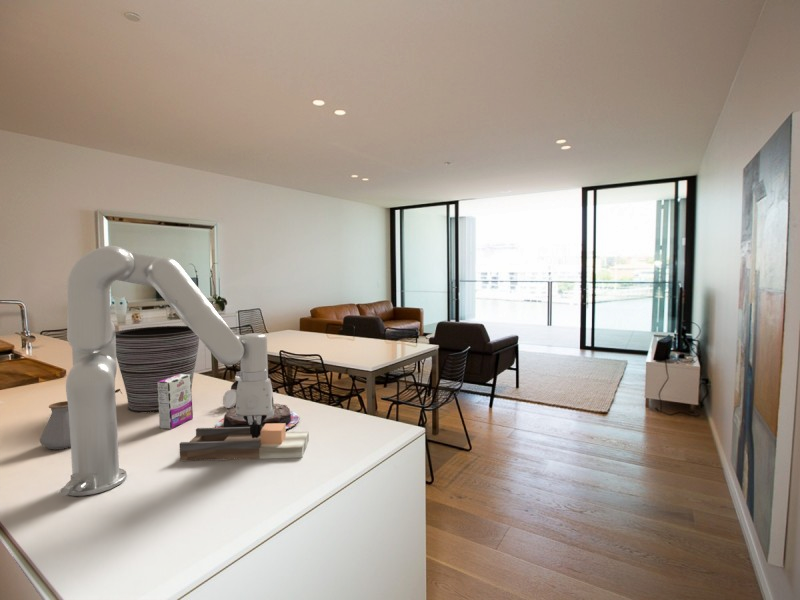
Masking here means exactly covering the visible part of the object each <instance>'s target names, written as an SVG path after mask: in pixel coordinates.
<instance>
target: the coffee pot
mask: <svg viewBox="0 0 800 600" xmlns="http://www.w3.org/2000/svg"><path fill="white" fill-rule="evenodd" d="M119 392H120V394H121V395H123V392H122V391H121V389H120V388H118V389H115V394H116V393H119ZM48 408H49V409H50V411H51V414H50V416H49V417H48V418H49V419H48V420H47V422H46V425H45V427H44V429H43V430H42V431H43V432H42V434H41V436H40V438H39V442H40V444H41V445H42V446H43V447H45V448H48V450H51V449H59V450H64V448H65V449H69V448H71V440H70V425H69V410H68V402H67V400H66V401H64V400H63V401H58V402H55V403H54V402H53V403H52V404H49V405H48ZM68 447H69V448H68Z"/></svg>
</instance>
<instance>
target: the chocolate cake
mask: <svg viewBox="0 0 800 600" xmlns="http://www.w3.org/2000/svg"><path fill="white" fill-rule="evenodd" d="M273 410H274V416H273V417H269V418H265V420H264V421H263V422H262V427H264V425H265V424H273V423H286V431H287V429H288V430H290V429H291V428H292V427H296V426H297V425H296V424H298V423H299V420H300V416H299V415H298V414H297V413H296V412H294V411H291V410H290V408H289V407H288V405H287V404H280V403H274V407H273ZM254 417H255V420H256V422H257V415H256V416H254ZM223 427H250V425H249V424H248V422H247V421H246V420H245V419H242V418H238V417H237V414H236V407H232V408H229V411H227V412H226V413H225V414H224V416H223V418H221V419H220V420H218V421H217V422H216V424H215V427H214V428H223Z"/></svg>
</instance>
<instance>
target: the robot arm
mask: <svg viewBox="0 0 800 600" xmlns="http://www.w3.org/2000/svg"><path fill="white" fill-rule="evenodd" d="M115 281H119V282H120V281H121V282H123V283H124V282H126V283H131V284H136V285H141V286H148V287H153V288H154V289H155V291H156V292H157V293H158V294H159V296H161V297H162V300H163V299H164V301H165V302H166V303H167V304H168V306H169V307H170V308H171V310H172V311H173V312H174V313H175V314H176V316H177V317H178V318H179V319H180V320H181V321H182V323H184V325H185V326H188V327H189V328H190V329H191V330H192V331H193V332H194V333H195V334H196V335H197V336H198V337H199V341H201V342H202V343H203V344H204V346H205V347H206V348H207V349H208V351H209V352H210V353H211V354H212V356H213V357H214V358H215V359H216V360H217V361H218V362H219V363H220V364H222V365H223V366H233V365H236V364H237V363H239V362H240V371H236V372H235V376H237V377H238V376H239V377H240V379H241V380H240V381H238V385H237V393H236V405H235V408H236V414H237V417H238V418H242V419H245V420H246V421H247V422H248V424H249V425H250V434H252V438H258V437H259V435H260V434H261V432H260V431H261V429H262V422H263V421H264V420H265V418H269V417H273V416H274V410H273V407H274V404H275V401H274V392H273V386H272V381H271V378H270V377H269V366H268V365H269V362H268V338H267V336H266V334H264V333H259V332H255V333H253V332H252V333H245V334H235V333H234V332H233V330H232V329H231V327H230V326H229V325H228V324H227V323H226V322H225V320H224V319H223V318H222V317H221V315H219V313H218V312H217V310H216V309H215V307H214V306H213V304H212V303H211V302H210V300H209V299H208V298H207V297H206V296H205V295H204V293H203V292H202V291H201V289H200V288H199V286H198V285H197V284H196V283H195V282H194V281H193V280H192V278H191V277H190V275H189V274H188V273H187V272H186V271H185V269H184V267H182V265H181V264H180V263H179V262H177V261H176V260H175V259H173V258H171V257H168V256H167V257H164V256H163V257H159V256H156V255H155V256H153V255H149V254H145V253H140V252H135V251H131V250H127V249H124V248H123V247H121V246H117V245H106V246H105V245H104V246H101V247H98V248H96V249H93V250H91V251H89V252H87V253H86V254H84V255H82V257H80V258H79V259H78V260H77V261H76V262H75V263H74V264H73V267H72V268H71V269H70V272H69V275H68V279H67V286H66V287H67V288H66V289H67V295H66V296H67V301H66V302H67V305H66V310H67V311H66V312H67V313H66V314H67V315H66V317H67V327H66V328H67V329H66V338H67V342H68V344H69V345H70V347H71V350H72V351H71V352H72V353H71V354H72V368H71V369H70V370H69V372H68V374H67V376H66V380H65V394H66V401H67V402H68V410H69V425H70V440H71V447H70V452H71V454H70V455H71V457H70V458H71V475H70V480H69V481H68V482H67V483H65V486H63V487H62V488H61V489H60V490H59V493H60V495H62V496H67V495H69V496H74V497H76V496H77V497H81V496H84V497H85V496H91V495H95V494H99V493H103V492H106V491H109V490H111V489H114V488H115V487H118V486H119V485H121V484H122V483H124V482H125V480H126V479H127V476H128V475H127V471H126V470H125V469H123V468H120V461H119V457H120V456H119V438H118V434H119V433H118V419H117V417H118V416H117V404H116V403H117V402H116V400H117V398H116V393H115V390H116V376H117V369H118V368H117V366H118V365H117V364H118V363H117V357H116V333H115V332H116V326H115V324H114V322H113V321H112V320H111V319H112V318H111V287H112V285H113V283H114V282H115ZM256 415H257V422H256V420H255V417H254V416H256Z"/></svg>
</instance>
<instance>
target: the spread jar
mask: <svg viewBox="0 0 800 600" xmlns="http://www.w3.org/2000/svg"><path fill="white" fill-rule="evenodd" d="M234 380H235V381H234V382H232V385H231V386H230V390H226V392H225V393H224V394H223V396H222V405H223V406H224V408H226V409H231V408H234V407H235V406H236V393H237V385H238V381H240V380H241V379H240V377H239V376H238V377H237V376H236V375H235V377H234Z"/></svg>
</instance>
